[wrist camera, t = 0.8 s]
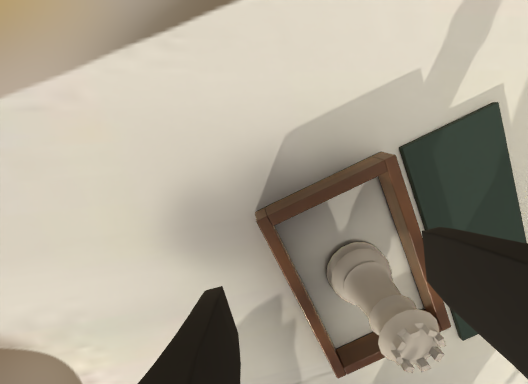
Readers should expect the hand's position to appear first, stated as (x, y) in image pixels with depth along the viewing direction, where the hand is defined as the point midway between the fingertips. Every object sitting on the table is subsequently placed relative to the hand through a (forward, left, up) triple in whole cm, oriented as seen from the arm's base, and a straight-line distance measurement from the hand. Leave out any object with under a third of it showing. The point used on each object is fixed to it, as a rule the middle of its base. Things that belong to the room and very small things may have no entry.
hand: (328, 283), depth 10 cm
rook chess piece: (-7, -3, -10) cm, 13 cm away
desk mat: (-9, -12, -10) cm, 18 cm away
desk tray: (-7, -3, -10) cm, 13 cm away
